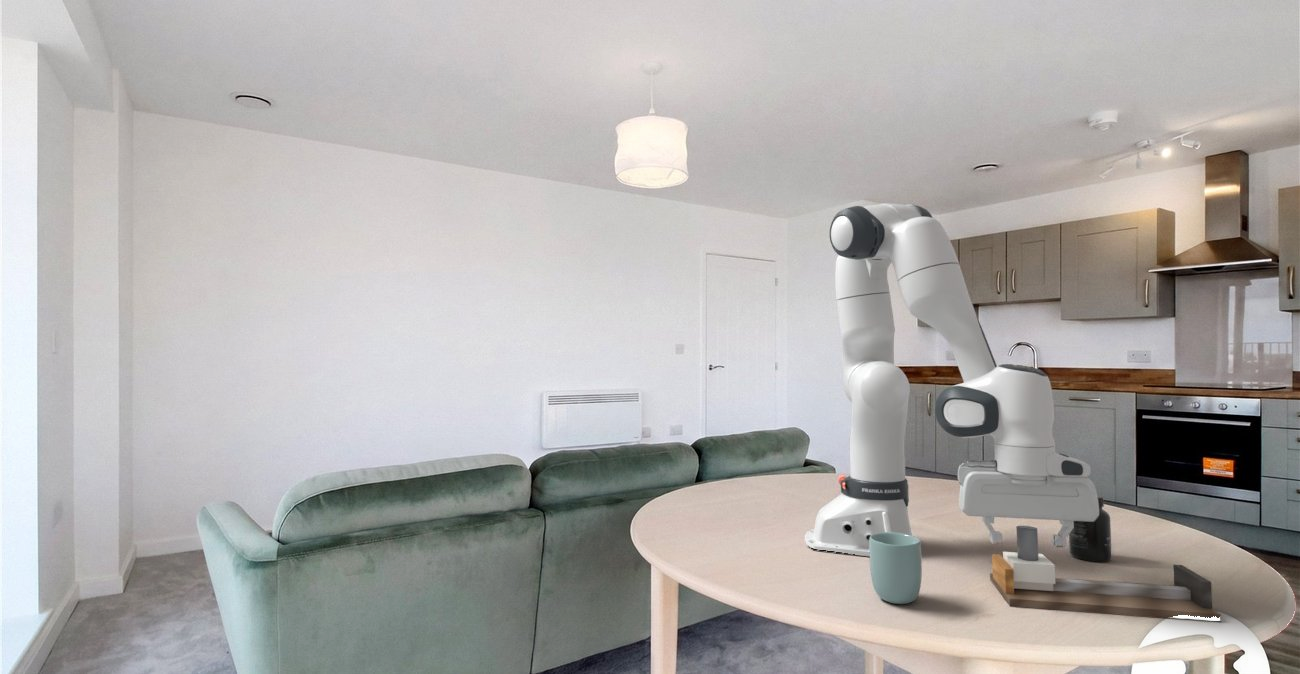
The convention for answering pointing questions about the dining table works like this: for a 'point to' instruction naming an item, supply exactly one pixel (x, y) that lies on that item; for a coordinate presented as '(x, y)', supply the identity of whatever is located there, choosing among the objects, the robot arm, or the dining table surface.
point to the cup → (895, 566)
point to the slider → (1030, 562)
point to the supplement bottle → (1092, 538)
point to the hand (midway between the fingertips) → (1027, 544)
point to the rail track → (1112, 594)
